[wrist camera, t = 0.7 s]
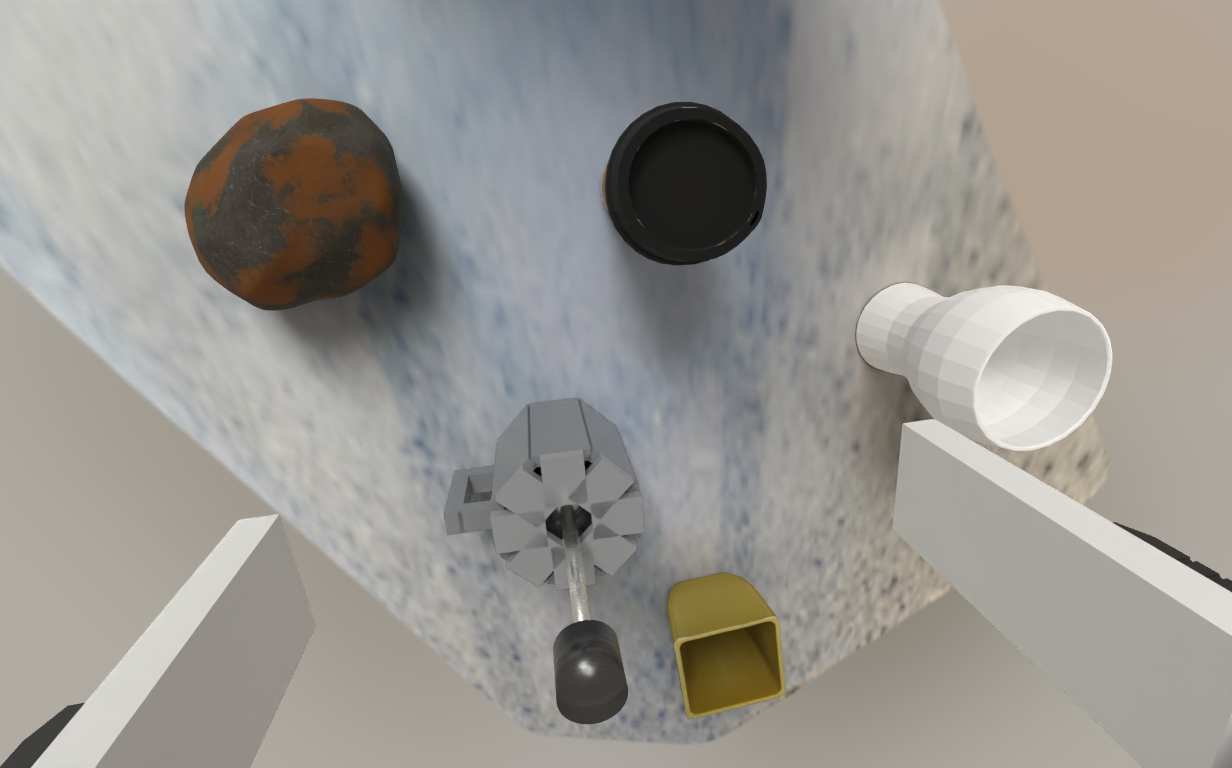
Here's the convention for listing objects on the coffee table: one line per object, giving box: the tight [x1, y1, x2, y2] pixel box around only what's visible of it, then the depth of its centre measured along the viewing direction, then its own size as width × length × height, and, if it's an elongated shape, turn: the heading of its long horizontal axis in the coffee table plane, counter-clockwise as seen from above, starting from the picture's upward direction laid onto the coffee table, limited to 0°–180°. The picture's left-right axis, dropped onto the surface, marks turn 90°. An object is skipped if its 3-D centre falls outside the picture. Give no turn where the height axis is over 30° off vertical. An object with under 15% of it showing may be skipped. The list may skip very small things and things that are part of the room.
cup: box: [856, 283, 1113, 451], centre depth 43 cm, size 11×11×15 cm
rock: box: [185, 99, 404, 310], centre depth 36 cm, size 14×11×10 cm
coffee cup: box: [600, 102, 767, 265], centre depth 36 cm, size 8×8×15 cm
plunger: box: [539, 468, 628, 724], centre depth 34 cm, size 6×6×17 cm
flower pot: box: [668, 573, 786, 719], centre depth 52 cm, size 9×9×9 cm
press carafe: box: [444, 398, 644, 590], centre depth 44 cm, size 10×14×11 cm
